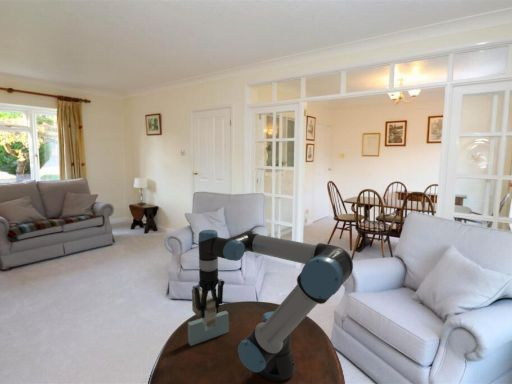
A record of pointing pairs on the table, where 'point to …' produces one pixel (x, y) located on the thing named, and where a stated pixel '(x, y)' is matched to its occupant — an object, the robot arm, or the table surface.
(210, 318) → the beige bar
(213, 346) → the table surface
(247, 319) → the table surface
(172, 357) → the table surface
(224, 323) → the base plate
